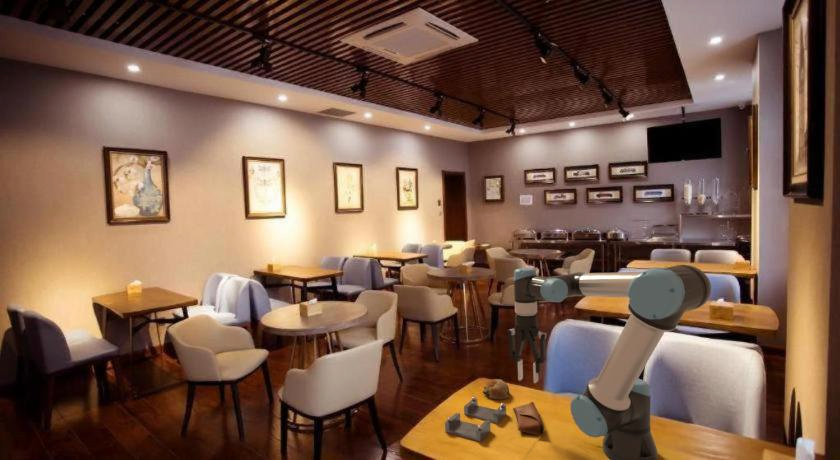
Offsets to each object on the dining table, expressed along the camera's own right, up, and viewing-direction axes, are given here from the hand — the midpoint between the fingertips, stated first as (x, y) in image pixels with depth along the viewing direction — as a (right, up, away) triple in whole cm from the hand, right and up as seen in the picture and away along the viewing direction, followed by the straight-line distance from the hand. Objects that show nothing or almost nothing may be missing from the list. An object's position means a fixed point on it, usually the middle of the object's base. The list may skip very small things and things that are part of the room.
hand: (528, 380), depth 152 cm
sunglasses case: (-2, -16, +2) cm, 16 cm away
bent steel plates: (-17, -16, +3) cm, 24 cm away
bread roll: (-8, -16, +24) cm, 30 cm away
